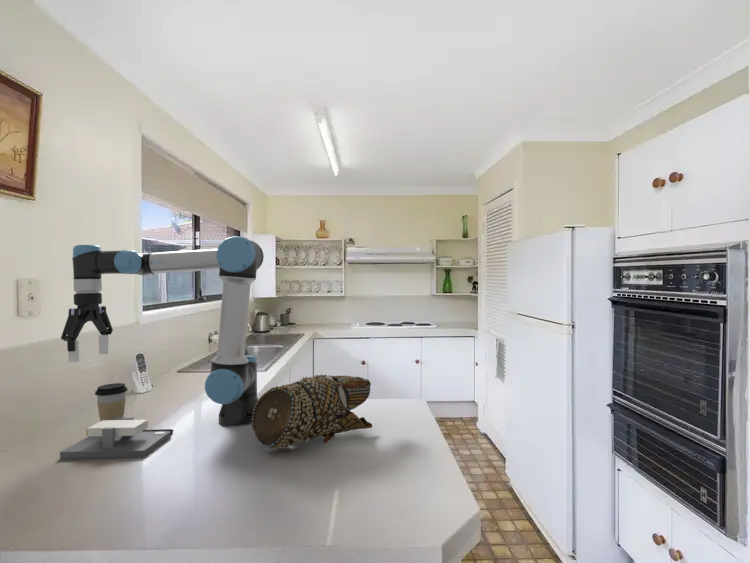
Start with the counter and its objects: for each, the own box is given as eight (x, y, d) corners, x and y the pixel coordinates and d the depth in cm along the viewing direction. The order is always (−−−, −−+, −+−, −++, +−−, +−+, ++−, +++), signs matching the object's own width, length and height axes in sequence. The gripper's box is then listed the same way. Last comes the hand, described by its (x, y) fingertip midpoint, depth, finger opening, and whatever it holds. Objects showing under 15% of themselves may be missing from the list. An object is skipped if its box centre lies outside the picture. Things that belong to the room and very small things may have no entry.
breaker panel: (170, 437, 131) (170, 414, 131) (144, 457, 116) (144, 431, 116) (96, 438, 131) (95, 415, 131) (60, 458, 116) (59, 432, 116)
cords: (174, 432, 136) (174, 428, 136) (170, 435, 133) (170, 431, 133) (123, 433, 136) (123, 429, 136) (118, 436, 133) (118, 432, 133)
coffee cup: (112, 435, 133) (111, 390, 133) (88, 434, 135) (87, 389, 135) (134, 425, 143) (134, 383, 143) (111, 424, 144) (111, 382, 145)
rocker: (148, 427, 127) (147, 419, 127) (134, 435, 120) (134, 427, 120) (102, 428, 127) (102, 420, 127) (86, 436, 120) (86, 428, 120)
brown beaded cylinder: (329, 379, 152) (244, 381, 127) (370, 358, 140) (286, 355, 115) (342, 445, 142) (253, 461, 117) (388, 428, 130) (300, 442, 105)
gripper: (102, 292, 145) (104, 351, 145) (45, 293, 120) (46, 365, 120) (123, 291, 145) (124, 351, 145) (70, 293, 120) (71, 365, 120)
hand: (89, 357), depth 133 cm, fingers open, 13 cm apart
